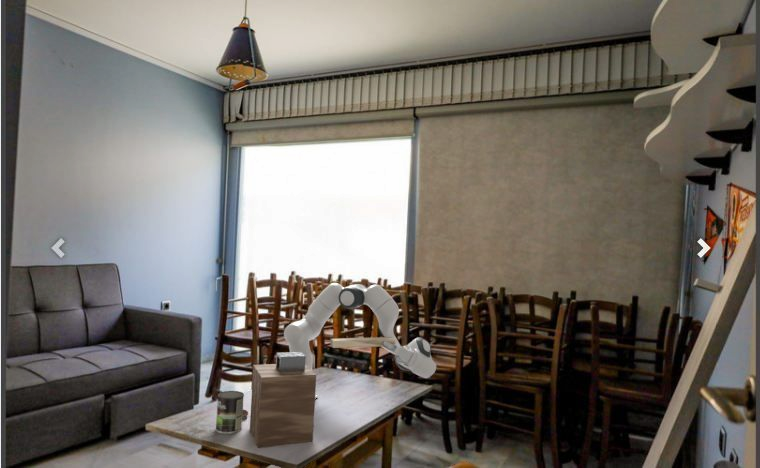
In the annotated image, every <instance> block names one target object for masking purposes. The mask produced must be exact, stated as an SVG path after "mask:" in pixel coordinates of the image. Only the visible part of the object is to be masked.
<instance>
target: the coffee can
mask: <svg viewBox="0 0 760 468" xmlns="http://www.w3.org/2000/svg"><path fill="white" fill-rule="evenodd" d="M244 397H245V393H243V392H242V391H239V390H238V391H237V390H227V391H226V390H225V391H221V392H219V393H218V394H217V406H216V422H215V432H217V433H218V434H222V435H224V434H225V435H227V434H229V435H230V434H231V435H233V434H236V433H239V432H240V431H242V428H243V427H242V426H243V425H242V423H243V419H242V412H243V410H244Z"/></svg>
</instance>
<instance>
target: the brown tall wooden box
mask: <svg viewBox="0 0 760 468" xmlns="http://www.w3.org/2000/svg"><path fill="white" fill-rule="evenodd" d="M252 368H253V369H252V380H251V381H252V383H251V384H252V386H251V400H250V402H251V403H250V416H249V417H250V418H249V419H250V421H249V430H250V434H251V435H252V438H253V441H254V444H255V445H256V448H257V449H262V448H271V447H278V446H279V447H280V446H288V445H289V446H290V445H297V444H298V445H299V444H307V443H308V444H309V443H313V442H314V426H315V425H314V424H315V406H316V404H315V403H316V399H315V394H316V390H317V389H316V387H317V373H315V372H314V370H313V369H312V370H313V371H312V370H311V369H310V368H309V367H308V366H307V365H305V371H296V372H279V368H276V363H270V364H268V363H267V364H266V363H265V364H253V365H252Z"/></svg>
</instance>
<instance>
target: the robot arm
mask: <svg viewBox="0 0 760 468" xmlns="http://www.w3.org/2000/svg"><path fill="white" fill-rule="evenodd" d="M363 305H366V306H368V307H369V309H371V310H372V312H373V313H374V315H375V316H376V319H377V323H378V326H377V327H378V330H379V333H380V335H381V336H382V337H392V338H394V339H395V344H391V343H389V342H387V341H385V340H384V341H383V343H382V344H384V345H385V346H380V347H381V348H383V349H385V351H387V352H389V353H391V354H392V356H393V359H394V361H395V365H396V366H397V367H398V368H399V369H400V370H402V371H404V372H406V371H407V372H411V373H413V374H414V375H417V376H419V377H421V378H424V379H429V378H430V377H432V376H433V375H434V374H435V372H436V371H437V370H436V369H437V364H436V363H435V361H434V360H433V357H432V355H431V353H432V347H431V343H430V342H429V341H428V340H427V339H425V338H423V337H419V336H417V337H416V338H414V339H412V341H410V342H409V343H408V344H405V345H401V344H400V342H399V339H397V337H396V335H395V333H394V327H395V325H396V322H397V320H398V317H399V314H400V310H399V306H398V304H397V302H396V301H395V300H394V299H393V297H392V296H391V295H390V293H389V292H387V290H386V289H384V288H383V287H382V286H381V285H379V284H372V285H369V286H366V285H365V284H363V283H354V284H350V285H348V286H345V287H344V286H343V285H341V284H340V283H338V282H332V283H329V285H327V286H326V287H325V288H324V289H323V290H322V291H321V292H320V293H319V294H318V295H317V297H316V298H315V299H314V300H313V301H312V302H311V304H309V306H308V309H307V312H306V313H305V315H304V317H303V318H302V319H300V320H296V321H292V322H291V323H290V324H288V325H287V326H286V327H285V328H284V330H283V337H284V340H285V342H287V343H288V349H289V352H302V353H303V354H304V355H305V356H306V358H305V365H307V366H308V367H309V368H310V369H311V370H312V371H313V372H314V370H313V364H314V363H313V362H314V361H313V360H314V354H313V352H312V351H311V348H310V347H311V346H310V341H313V340H314V339H316V338H317V337H318V336H319V335H320V334H321V331H322V329H323V327H324V325H325V324H326V322H327V321H328V320H329V318H330V317H331V316H332V315H333V314H334V313H335V312H336V311H337V309H338V308H339V307H340V306H341V307H343V308H345V309H348V310H352V309H353V310H354V309H356V308H359V307H362V306H363ZM316 398H317V399H318V398H319V395H317V394H316V393H315V400H316Z"/></svg>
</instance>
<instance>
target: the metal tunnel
mask: <svg viewBox="0 0 760 468" xmlns="http://www.w3.org/2000/svg"><path fill="white" fill-rule="evenodd" d="M305 358H306V356H305V355H304V354H303V353H302V352H290V351H289V352H287V351H286V352H285V351H284V352H276V358H275V360H276V363H275V364H276V368H279V372H296V371H305Z"/></svg>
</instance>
